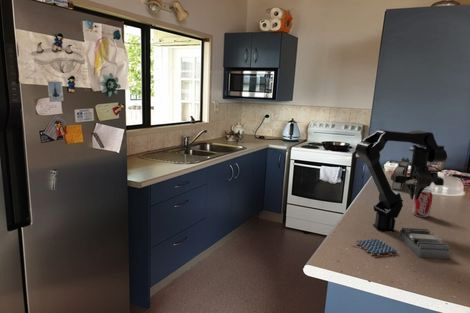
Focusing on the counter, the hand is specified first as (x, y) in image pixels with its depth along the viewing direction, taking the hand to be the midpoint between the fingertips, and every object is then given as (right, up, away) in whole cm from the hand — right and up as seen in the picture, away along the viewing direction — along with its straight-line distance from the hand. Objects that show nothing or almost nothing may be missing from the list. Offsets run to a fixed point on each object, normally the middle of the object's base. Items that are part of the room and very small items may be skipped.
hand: (413, 199), depth 143 cm
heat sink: (-5, -15, -17) cm, 23 cm away
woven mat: (-24, -16, -20) cm, 35 cm away
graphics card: (+28, 0, +72) cm, 77 cm away
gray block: (-5, -12, -17) cm, 22 cm away
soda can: (+12, -10, +17) cm, 23 cm away
